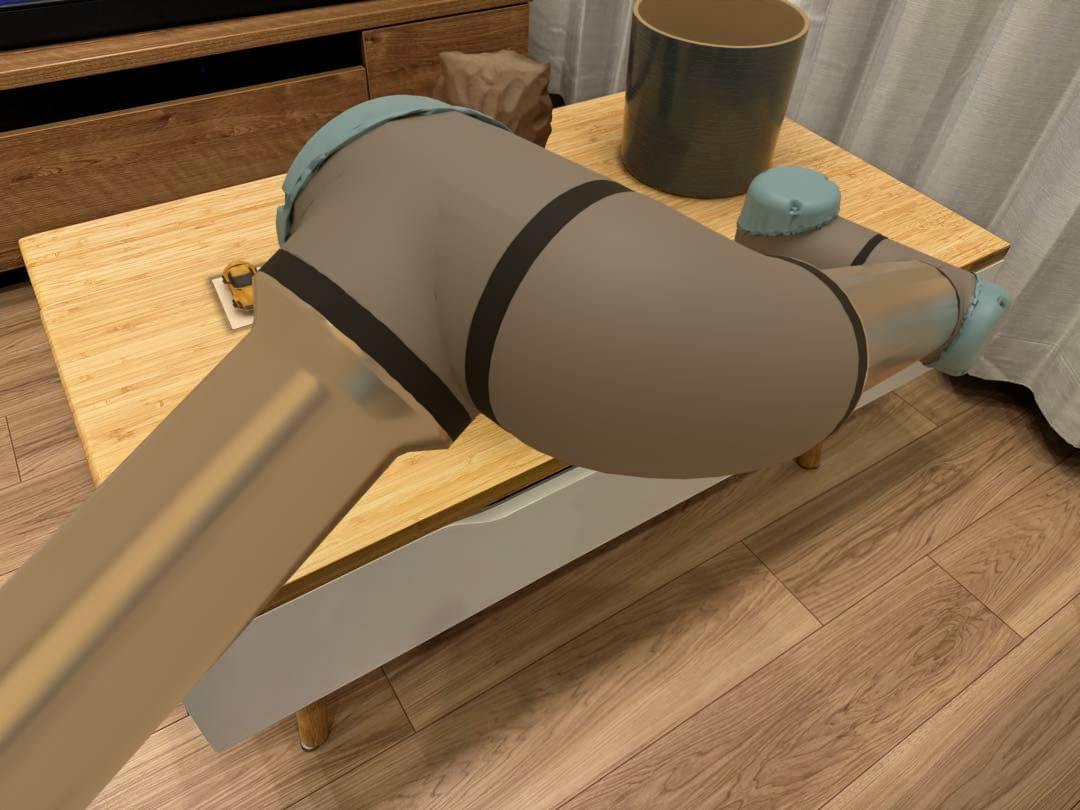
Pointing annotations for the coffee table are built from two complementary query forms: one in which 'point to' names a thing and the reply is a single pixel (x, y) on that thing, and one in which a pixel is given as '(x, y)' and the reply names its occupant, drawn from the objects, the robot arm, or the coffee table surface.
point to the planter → (708, 91)
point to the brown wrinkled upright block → (499, 90)
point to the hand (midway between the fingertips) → (434, 300)
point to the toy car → (237, 292)
